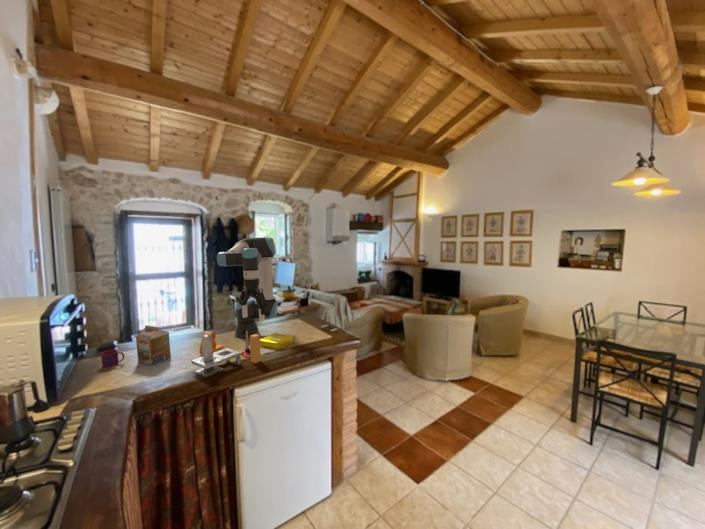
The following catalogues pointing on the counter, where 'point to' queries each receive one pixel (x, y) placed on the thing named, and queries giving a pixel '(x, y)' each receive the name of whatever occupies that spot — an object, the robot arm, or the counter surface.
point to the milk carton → (152, 346)
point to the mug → (110, 358)
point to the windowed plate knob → (213, 357)
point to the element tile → (276, 341)
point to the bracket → (214, 346)
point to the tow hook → (246, 348)
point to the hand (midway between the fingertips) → (253, 319)
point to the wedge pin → (255, 348)
